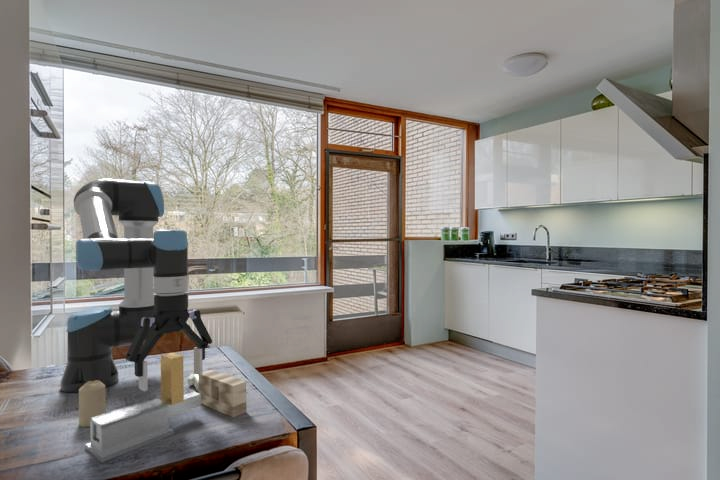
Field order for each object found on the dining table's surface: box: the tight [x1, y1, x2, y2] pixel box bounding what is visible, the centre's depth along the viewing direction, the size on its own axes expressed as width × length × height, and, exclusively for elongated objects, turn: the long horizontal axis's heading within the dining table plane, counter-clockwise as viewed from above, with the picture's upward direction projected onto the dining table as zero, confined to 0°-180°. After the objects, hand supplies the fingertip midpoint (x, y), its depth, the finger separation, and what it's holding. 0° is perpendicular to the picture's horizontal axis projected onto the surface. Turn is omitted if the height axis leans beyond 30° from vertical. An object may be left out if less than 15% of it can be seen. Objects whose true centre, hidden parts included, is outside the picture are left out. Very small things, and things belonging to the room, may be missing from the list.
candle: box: [78, 380, 107, 428], centre depth 101 cm, size 6×6×10 cm
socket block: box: [197, 369, 247, 418], centre depth 109 cm, size 16×4×8 cm, turn 52°
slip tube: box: [96, 352, 202, 439], centre depth 95 cm, size 5×22×14 cm, turn 142°
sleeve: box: [84, 397, 175, 463], centre depth 91 cm, size 9×15×7 cm, turn 142°
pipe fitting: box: [187, 373, 199, 392], centre depth 124 cm, size 8×4×7 cm
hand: (172, 381), depth 99 cm, fingers open, 13 cm apart
